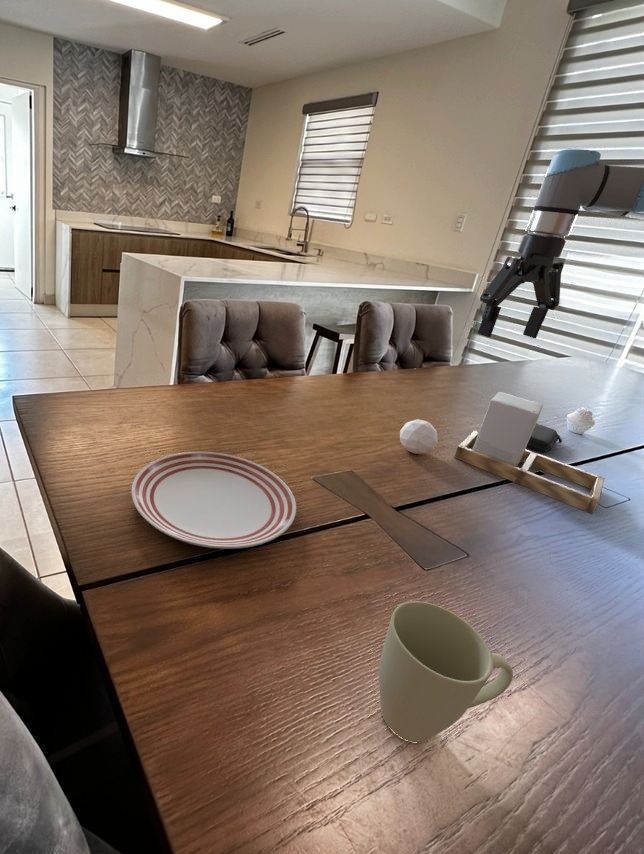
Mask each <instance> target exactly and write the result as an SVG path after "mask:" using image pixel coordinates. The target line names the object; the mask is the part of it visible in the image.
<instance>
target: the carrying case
mask: <svg viewBox="0 0 644 854" xmlns="http://www.w3.org/2000/svg"><path fill="white" fill-rule="evenodd" d="M557 441H558V444H561V443H562V442H563V438H562V436H560V434H559V433H558V432H557V430H555V429H554V428H551V427H548V426H546V425H543V424H540V423H536V425H535V427H534V430H533V432H532V435H531V437H530V439H529V442H528V444H527V446H526V449H529V450H531V451H534V452H537V453H545V452H550V451H551V449H552V448H553V446H554V445H555V444H556V443H557Z"/></svg>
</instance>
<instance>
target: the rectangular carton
mask: <svg viewBox="0 0 644 854" xmlns="http://www.w3.org/2000/svg"><path fill="white" fill-rule="evenodd" d="M543 406H544V404H543V403H540V402H536V401H534V400H530V399H526V398H523V397H519V396H516V395H513V394H510V393H506V392H502V391H497V393H496V394H495V395H494V397H493V398H491V399H490V401H489V403H488V407H487V409H486V412H485V415H484V417H483V420H482V423H481V425H480V428H479V431H478V432H479V433H478V436H477V438H476V441H475V444H474V445H473V446H472V448H471V449H472V450H475V451H477V452H480V453H482V454H485V455H487V456H490V457H493V458H495V459H498V460H500V461H503V462H505V463H508V464H511V465H513V466H516V467H518V466H519V464H520V463H521V462H520V460H521V457H522V455H523V453H524V451H525V449H527V447H526V446H527V444H528V442H529V439H530V437H531V435H532V432H533V430H534V427H535V425H536V423H537V422H538V420H539V418H540V415H541V412H542V409H543ZM537 424H538V423H537Z"/></svg>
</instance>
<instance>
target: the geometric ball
mask: <svg viewBox="0 0 644 854" xmlns="http://www.w3.org/2000/svg"><path fill="white" fill-rule="evenodd" d="M399 442H400V443H401V444H402V446H403V447H404V448H405V450H406V451H407V452H410V453H412V454H415V455H416V454H417V455H421V454H425V453H429V452H431V451H432V450H433V449H434V448H435V446H436V445H437V444H438V431H437V430H436V428H435V427H434V426H433V425H432V423H431V422H430V421H426V420H423V419H420V418H419V419H418V418H417V419H414V420H410V421H407V422H405V424H404V425H403V426H402V428H401V429H400V430H399Z"/></svg>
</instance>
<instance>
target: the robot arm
mask: <svg viewBox="0 0 644 854" xmlns="http://www.w3.org/2000/svg"><path fill="white" fill-rule="evenodd" d="M601 156H602V154H601V153H600V151H597V150H591V149H582V148H581V149H576V148H572V149H570V148H569V149H562V150H560V151H558V152H555V154H554V155H553V156H552V159H551V160H550V163H549V165H548V167H547V170H546V173H545V174H544V176H543V180H542V183H541V186H540V188H539V191H538V194H537V196H536V197H537V198H536V200H535V202H534V205H533V208H532V212H531V214H530V217H529V219H528V223H527V225H526V228H525V232H527V234H524V235H522V236H521V237H522V238H521V240H520V243H519V245H518V248H517V251H518V253H519V254H520V256H519V257H514V256H507V257H506V258H505V260H504V262H503V265H502V267H501V268H500V270H499V271H498V273H497V274H496V275H495V276H494V277H493V279H492V281H490V283H489V285H488V286H487V287H486V289H485V290H484V291H483V292H482V294H481V295H480V297H479V300H480V301H481V302H482V303H483V304H485V308H484V310H483V312H482V316H481V322H480V325H479V327H478V330H477V335H481V336H483V337H486V338H491V336H492V334H493V331H494V328H495V326H496V323H497V320H498V318H499V315H500V312H501V309H502V307H501V306H500V304H502V303H503V302H504V301H505V300H506V299H507V298H508V297H509V296H510V295H511V294H512V293H513V292H514V291H515V290H517V288H518V287H520V285H522V284H525V283H532V285H533V291H534V294H535V295H534V296H535V299H536V304H537V306H533V307H532V310H531V313H530V315H529V317H528V320H527V323H526V326H525V327H524V330H523V333H522V336H526V337H528V338H532V339H537V337H538V335H539V332H540V330H541V328H542V325H543V323H544V321H545V319H546V316H547V314H548V312H549V311H554V310H555V309H556V307H558V306H559V305H560V301H561V300H560V298H561V285H562V284H561V282H562V280H561V279H562V273H563V269H564V266H565V263H564V262H562V261H556V260H554V259H558V258H560V257H561V256H562V254H563V251H564V249H565V246H566V244H567V239H565V237H568V236H570V235H571V232H572V230H573V228H574V225H575V222H576V220H577V217H578V214H579V211H580V209H582V210H583V211H586V212H589V213H593V214H594V213H602V214H607V215H613V216H620V217H625V218H630V219H636V220H641V221H644V167H642V166H641V167H638V166H626V165H625V166H624V165H608V164H604V163H601V158H602V157H601Z"/></svg>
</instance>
